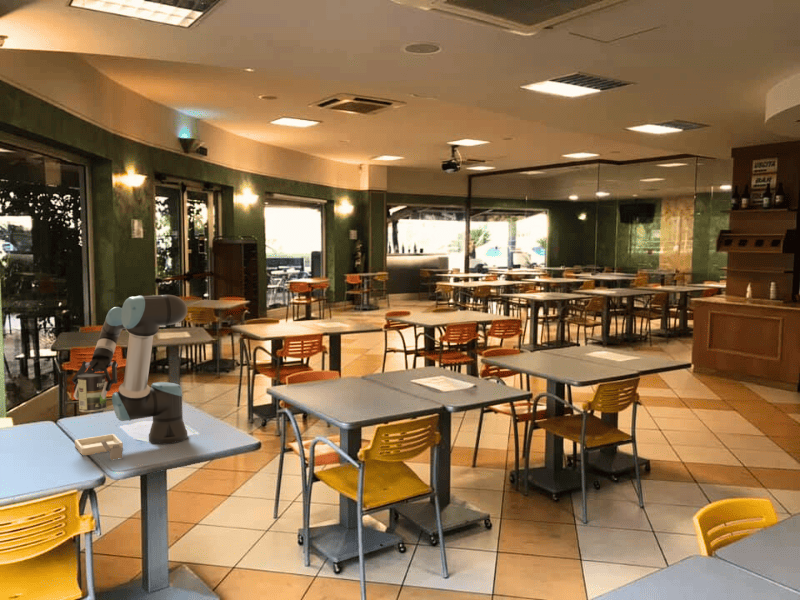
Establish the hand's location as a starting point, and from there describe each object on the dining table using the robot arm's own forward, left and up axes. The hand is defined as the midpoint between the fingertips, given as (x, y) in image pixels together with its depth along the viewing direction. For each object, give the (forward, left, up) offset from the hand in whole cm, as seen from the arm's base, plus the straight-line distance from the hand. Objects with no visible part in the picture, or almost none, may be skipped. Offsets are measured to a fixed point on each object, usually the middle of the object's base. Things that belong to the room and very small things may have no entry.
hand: (89, 397), depth 266 cm
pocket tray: (-5, +1, -19) cm, 20 cm away
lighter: (-21, +10, -20) cm, 31 cm away
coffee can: (+1, -3, -6) cm, 6 cm away
